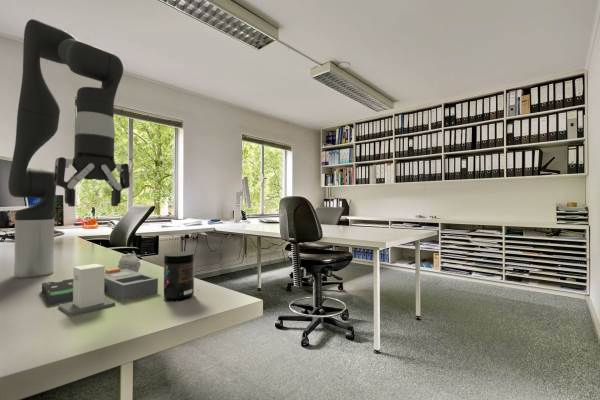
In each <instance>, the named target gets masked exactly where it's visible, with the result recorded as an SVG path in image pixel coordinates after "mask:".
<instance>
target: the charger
mask: <svg viewBox="0 0 600 400" xmlns="http://www.w3.org/2000/svg"><path fill="white" fill-rule="evenodd" d="M105 270H106V269H105V265H103V264H100V263H91V264H85V265H75V266H73V275H72V276H73V277H72V279H73V301H72V302H73V304H74V305H76V306H77V307H79V308H84V307H88V306H92V305H97V304H101V303H104V297H105V292H104V272H105Z"/></svg>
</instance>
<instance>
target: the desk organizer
mask: <svg viewBox="0 0 600 400" xmlns="http://www.w3.org/2000/svg"><path fill="white" fill-rule="evenodd" d="M158 287H159V278H157V277H154V276H151V275H148V274H145V273H142V272H139V271H138V272H135V271H132V270H128V269H122V270H121V269H120V268H118V267H115V268H108V269H107V268H106V269H105V270H104V293H106V294H108V295H110V296H113V297H114V298H117V299H120V300H121V301H127V300H131V299H136V298H140V297H144V296H149V295H153V294H157V293H159V288H158Z"/></svg>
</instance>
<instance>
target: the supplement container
mask: <svg viewBox="0 0 600 400" xmlns="http://www.w3.org/2000/svg"><path fill="white" fill-rule="evenodd" d="M194 283H195V252H193V251H173V252H172V251H171V252H166V253H164V254H163V298H164V300H165V301H167V302H183V301H186V300H189V299H191V298H193V296H194V294H195V284H194Z"/></svg>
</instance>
